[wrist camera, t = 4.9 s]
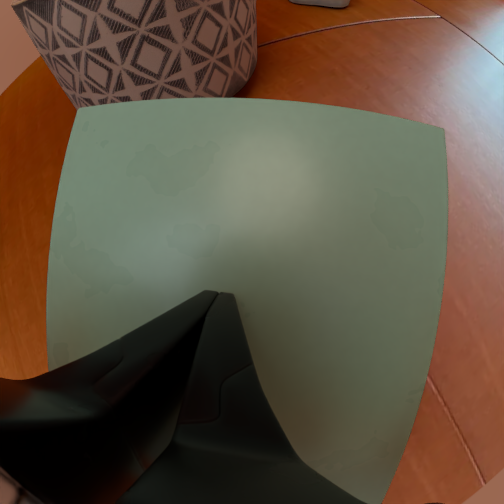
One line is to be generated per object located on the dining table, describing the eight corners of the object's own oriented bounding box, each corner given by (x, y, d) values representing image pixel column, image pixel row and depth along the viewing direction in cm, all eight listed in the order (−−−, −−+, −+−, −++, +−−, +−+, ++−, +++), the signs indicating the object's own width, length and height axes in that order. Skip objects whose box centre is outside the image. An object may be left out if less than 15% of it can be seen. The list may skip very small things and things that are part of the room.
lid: (88, 115, 11) (77, 107, 10) (435, 136, 9) (444, 128, 8) (68, 441, 10) (59, 448, 9) (375, 497, 9) (379, 508, 8)
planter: (290, 116, 24) (295, -71, 9) (77, 180, 24) (-29, 42, 8) (236, 25, 31) (223, -86, 16) (91, 68, 30) (46, -30, 15)
